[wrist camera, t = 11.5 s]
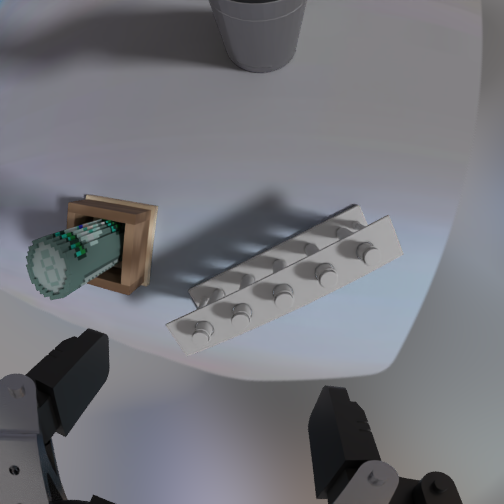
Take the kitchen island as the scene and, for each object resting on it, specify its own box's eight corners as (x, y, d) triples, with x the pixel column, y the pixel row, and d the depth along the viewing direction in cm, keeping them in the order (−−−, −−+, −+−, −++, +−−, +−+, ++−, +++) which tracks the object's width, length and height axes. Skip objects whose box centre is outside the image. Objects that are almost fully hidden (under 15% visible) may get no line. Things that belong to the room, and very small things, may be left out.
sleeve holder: (89, 194, 39) (66, 198, 33) (158, 206, 39) (140, 211, 33) (85, 267, 41) (63, 279, 35) (149, 284, 41) (132, 299, 35)
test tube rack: (205, 315, 42) (181, 368, 29) (189, 288, 41) (157, 334, 28) (370, 234, 38) (414, 260, 25) (357, 204, 37) (398, 217, 25)
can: (126, 211, 38) (59, 231, 23) (138, 255, 39) (78, 294, 25) (91, 222, 39) (20, 245, 24) (103, 264, 40) (38, 302, 25)
